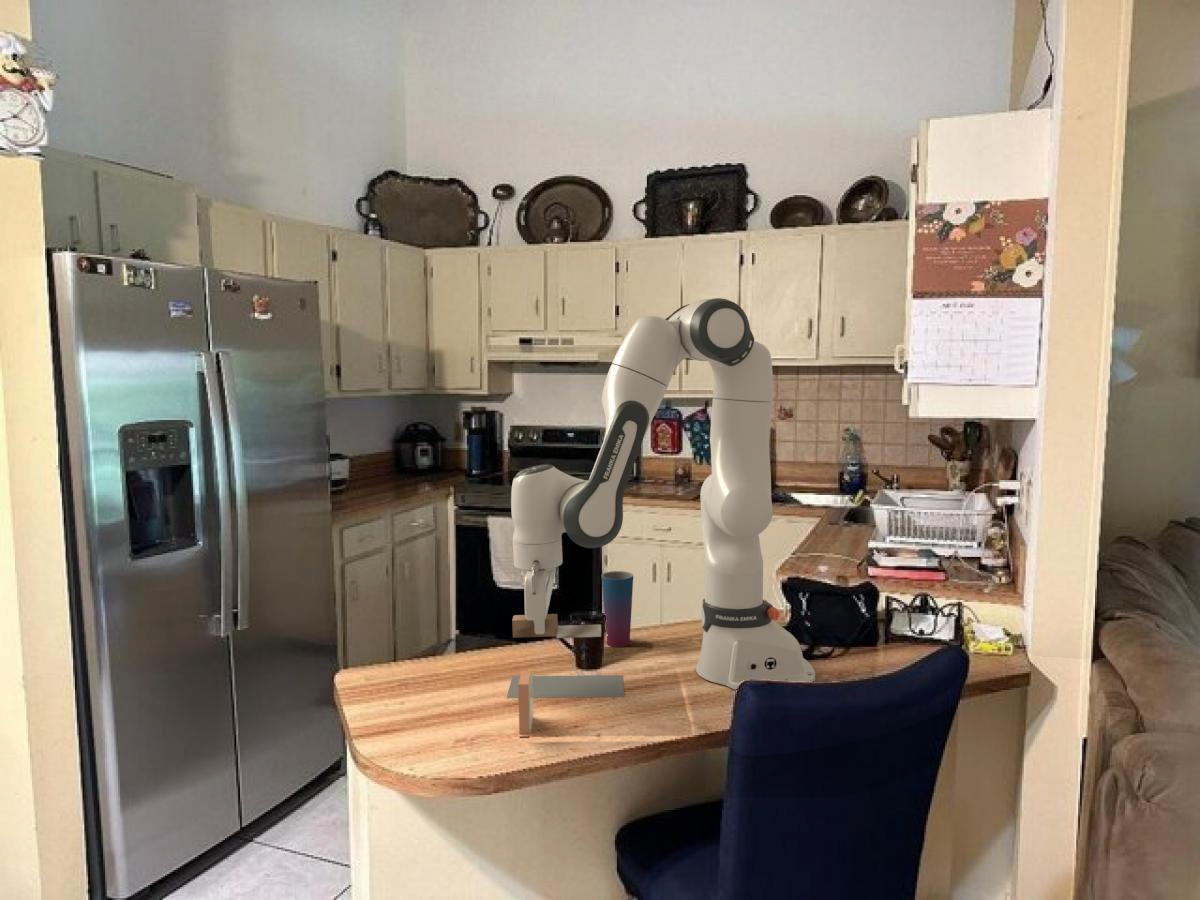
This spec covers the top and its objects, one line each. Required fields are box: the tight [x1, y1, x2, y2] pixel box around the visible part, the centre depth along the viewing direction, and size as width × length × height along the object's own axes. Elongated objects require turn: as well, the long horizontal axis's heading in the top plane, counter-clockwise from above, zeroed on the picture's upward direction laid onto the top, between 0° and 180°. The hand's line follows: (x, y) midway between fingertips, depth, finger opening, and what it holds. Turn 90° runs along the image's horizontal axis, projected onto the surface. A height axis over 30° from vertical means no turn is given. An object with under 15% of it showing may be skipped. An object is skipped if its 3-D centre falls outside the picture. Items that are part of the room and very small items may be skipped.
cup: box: [601, 570, 634, 648], centre depth 174 cm, size 7×7×15 cm
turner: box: [511, 613, 602, 639], centre depth 148 cm, size 16×5×3 cm, turn 90°
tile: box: [518, 669, 534, 739], centre depth 133 cm, size 2×6×9 cm, turn 0°
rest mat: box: [506, 674, 625, 699], centre depth 150 cm, size 21×10×1 cm, turn 90°
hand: (541, 629), depth 148 cm, fingers closed on turner, 3 cm apart
